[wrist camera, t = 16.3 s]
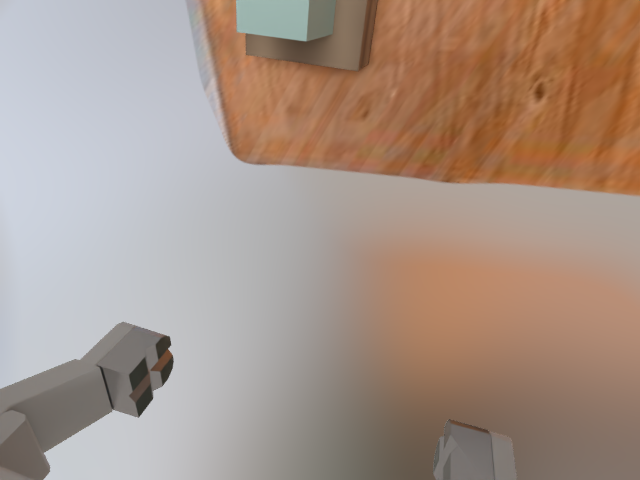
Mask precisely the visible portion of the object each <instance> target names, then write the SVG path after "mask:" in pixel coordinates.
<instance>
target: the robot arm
mask: <svg viewBox="0 0 640 480" xmlns="http://www.w3.org/2000/svg"><path fill="white" fill-rule="evenodd" d="M170 346H171V341H170V337H169V336H166V335H163V334H160V333H157V332H154V331H150V330H147V329H144V328H141V327H138V326H135V325H132V324H129V323H125V322H122V323H119V324H117V325H116V326H115V327H114V328H113V329H112V330H111V331H110V332H109V333H108V334H107V335H106V336H105V337H104V338H103V339H101V340H100V341H99V342H98V343H97V344H96V345H95V346H94V347H93V348H92V349H91V350H90V351H89V352H88V353H87V354H86V355H85V356H84V357H83V358H82V359H81V360H76V359H75V360H72V361H69V362H67V363H65V364H62V365H59V366H57V367H54V368H52V369H49V370H47V371H44V372H42V373H39V374H37V375H34V376H32V377H29V378H27V379H24V380H22V381H20V382H17V383H14V384H12V385H9V386H7V387H4V388H2V389H0V480H43V479H44V478H45V477H46V476H47V474H48V473H49V472H50V465H49V463H48V461H47V459H46V457H45V455H44V452H46V451H48V450H49V449H51V448H53V447H54V446H56V445H57V444H59V443H61V442H62V441H64V440H66V439H67V438H69V437H71V436H72V435H74V434H76V433H77V432H79V431H81V430H82V429H84V428H86V427H87V426H89V425H91V424H92V423H94V422H95V421H97V420H99V419H100V418H102V417H104V416H105V415H107V414H109V413H110V412H112V409H113V410H116V411H119V412H123V413H126V414H129V415H132V416H135V417H140V415H141V414H142V413H143V411H144V410H145V409H146V407H147V406H148V405H149V403H150V402H151V401H152V400H153V391H154V390H156V389H158V388H160V387H162V386H163V385H164V383H165V382H166V381H167V379H168V378H169V375H170V373H171V371H172V368H173V362H174V361H173V355H172V354H171V352H170V351H169V350H168V348H169V347H170ZM433 474H434V476H435V478H436V480H517V475H516V467H515V460H514V452H513V446H512V441H511V439H510V437H508V436H505V435H501V434H498V433H495V432H491V431H488V430H486V429H482V428H479V427H476V426H472V425H468V424H465V423H461V422H458V421H454V420H450V419H449V420H448V421H447V422H446V424H445V427H444V436H442V437H440V439H439V441H438V444H437V447H436V452H435V457H434V468H433Z"/></svg>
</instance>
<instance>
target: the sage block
mask: <svg viewBox="0 0 640 480" xmlns="http://www.w3.org/2000/svg"><path fill="white" fill-rule="evenodd" d="M335 4H336V0H236V13H237V32H241V33H248V34H255V35H263V36H270V37H277V38H285V39H292V40H299V41H310V40H313V39H317V38H321V37H324V36H328V35H331V34H333V25H334V14H335Z"/></svg>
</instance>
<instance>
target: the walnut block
mask: <svg viewBox="0 0 640 480" xmlns="http://www.w3.org/2000/svg"><path fill="white" fill-rule="evenodd" d="M377 1H378V0H336V4H335V14H334V25H333V34H331V35H328V36H324V37H321V38H317V39H313V40H310V41H299V40H292V39H285V38H277V37H270V36H263V35H255V34H248V33H246V55H251V56H258V57H265V58H272V59H278V60H285V61H292V62H299V63H306V64H312V65H319V66H326V67H333V68H340V69H346V70H353V71H359V70H360V69H362V68H363V67H364V66H366V65H367V64H368V63H369V56H370V49H371V42H372V35H373V28H374V21H375V14H376V7H377Z"/></svg>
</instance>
